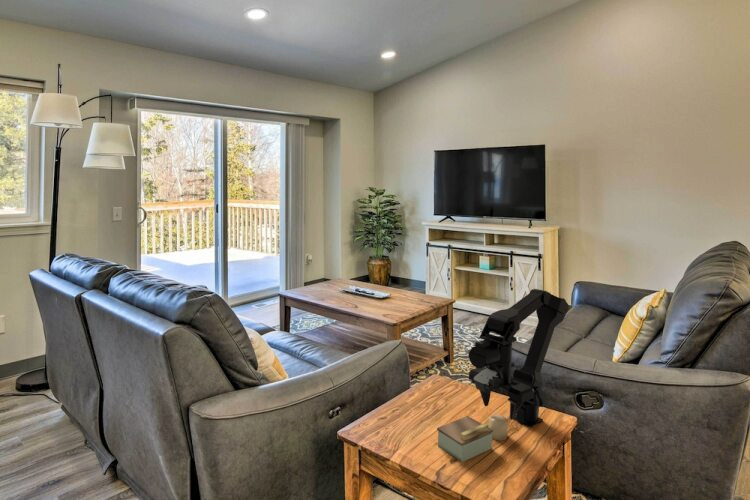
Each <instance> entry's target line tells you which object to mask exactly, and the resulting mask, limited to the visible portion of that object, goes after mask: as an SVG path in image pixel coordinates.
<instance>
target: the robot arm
mask: <svg viewBox="0 0 750 500" xmlns="http://www.w3.org/2000/svg"><path fill="white" fill-rule="evenodd" d="M569 307H570V306H569V304H568V302H567V300H566V299H565V298H563V297H558V296H556V295H554V294H552V293H550V292H548V291H547V290H544V289H543V290H542V289H539V288H533V289H530V291H529V293H528V294H526V295H525V296H524V297H522V298H521V299H519V300H518V301H517V302H516V303H514V304H513V305H511V306H510V307H509V308H505V309H500V310H499V309H498V310H497V311H494V312H492V313H491V314H490V315H489V316H488V318H487V320H486V323H485V324H484V327H483V329H482V330H481V333H480V335H479V339H481V340H477V341H475V343H474V345H475V346H473V347H471V348H470V349H469V351H468V359H469V361H470V363H471V365H472V366H473V367H474V368H472V369H470V370H469V372H468V380H469V381H471V383H472V384H474V385H475V388H476V389H477V390H478V391H479V393H480V396H481V399H482V402H483V405H484V406H485V407H488V406H489V403H490V398H491V393H492V391H494V392H496V391H498V390H499V389H500V388H502V389H503V390H506V391H507V392H508V393H507V394H508V397H509V398H507V401H508V402H509V419H510V420H511V421H512V420H515V421H516V422H519V423H521V424H523V425H524V426H526V427H528V428H531V427H533V426H536V425H537V424H540V423H542V422H543V421H544V419H543V418H541V417H540V413H539V412H540V408H543V407H545V406H544V405H545V404H546V402H547V395H546V394H545V392H544V391H543V390H542V386H543V379H542V376H541V371H542V369H543V364H544V361H545V359H546V355H547V352H548V349H549V346H550V343H551V341H552V338H553V334H554V330H555V328H556V327H557V326H558V325H559V324H561V323H562V322H563V321H564V319H565V316H566V314H567V313H569ZM535 312H536V317H537V321H538V322H537V325H536V328H535V330H534V332H533V333H534V334H533V337H532V339H531V342H530V344H529V345H530V346H529V348H528V351H527V353H526V354H527V355H526V358H525V361H524V363H523V366H522V367H520V368H519V369H517V368H516V369H515V370H514V371H513V375H512V368H514V367H515V362H513V361H512V360H513V359H512V355H513V354H512V353H513V343H515V342H517V340H518V339H517V338H516V337H515V335H516V334H517V333H518V332H519V331H520V329H521V323H522V322H523V321H525V320H526V319H527V318H528V317H530V316H531V315H532V314H533V313H535Z"/></svg>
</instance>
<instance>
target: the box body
mask: <svg viewBox="0 0 750 500" xmlns="http://www.w3.org/2000/svg"><path fill="white" fill-rule="evenodd" d="M437 432H438V433H437V446H438V447H439V448H440V449H441V450H443V451H445V452H446V453H448V454H449V455H450V456H452V457H453V458H455V459H457V460H458V462H461V463H464V462H466V461H468V460H470V459H472V458H474V457H476V456H478V455H481V454H482V453H485V452H487V451H489V450H491V449H492V445H493V444H492V442H493V439H492V433H490V434H487V435H485V436H483V437H481V438H478V439H476V440H474V441H471V442H469V443H467V444H465V445H462V446H461V445H459V444H458V443H456V442H455V441H453V440H452V439H450V438H449V437H447V436H446V435H444V434H442V433H441V432H439V431H438V430H437Z"/></svg>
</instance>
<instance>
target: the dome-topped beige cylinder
mask: <svg viewBox="0 0 750 500" xmlns="http://www.w3.org/2000/svg"><path fill="white" fill-rule="evenodd" d="M488 428H490V429H492V430H493V432H492V440H495V441H505V440H506V439H507V438H508V418H507V417H505V416H504V415H501V414H491V415H490V416H489V417H488Z"/></svg>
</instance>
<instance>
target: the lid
mask: <svg viewBox="0 0 750 500" xmlns="http://www.w3.org/2000/svg"><path fill="white" fill-rule="evenodd" d="M436 431H437V432H438V431H439V432H441V433H442V434H444V435H446V436H447V437H449V438H450V439H452V440H453V441H455V442H456V443H458V444H459V445H461V446H462V445H465V444H467V443H469V442H471V441H474V440H476V439H478V438H481V437H483V436H485V435H487V434H490V433H492V432H493V430H492V429H490V428H489V424H487V423H486V422H485V423H481V422H480V421H477V420H476V419H474V418H473V417H470V416H468V415H466V416H464V417H461V418H459V419H455V420H453V421H451V422H449V423H446V424H444V425H440V426H439V427H437V428H436Z"/></svg>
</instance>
